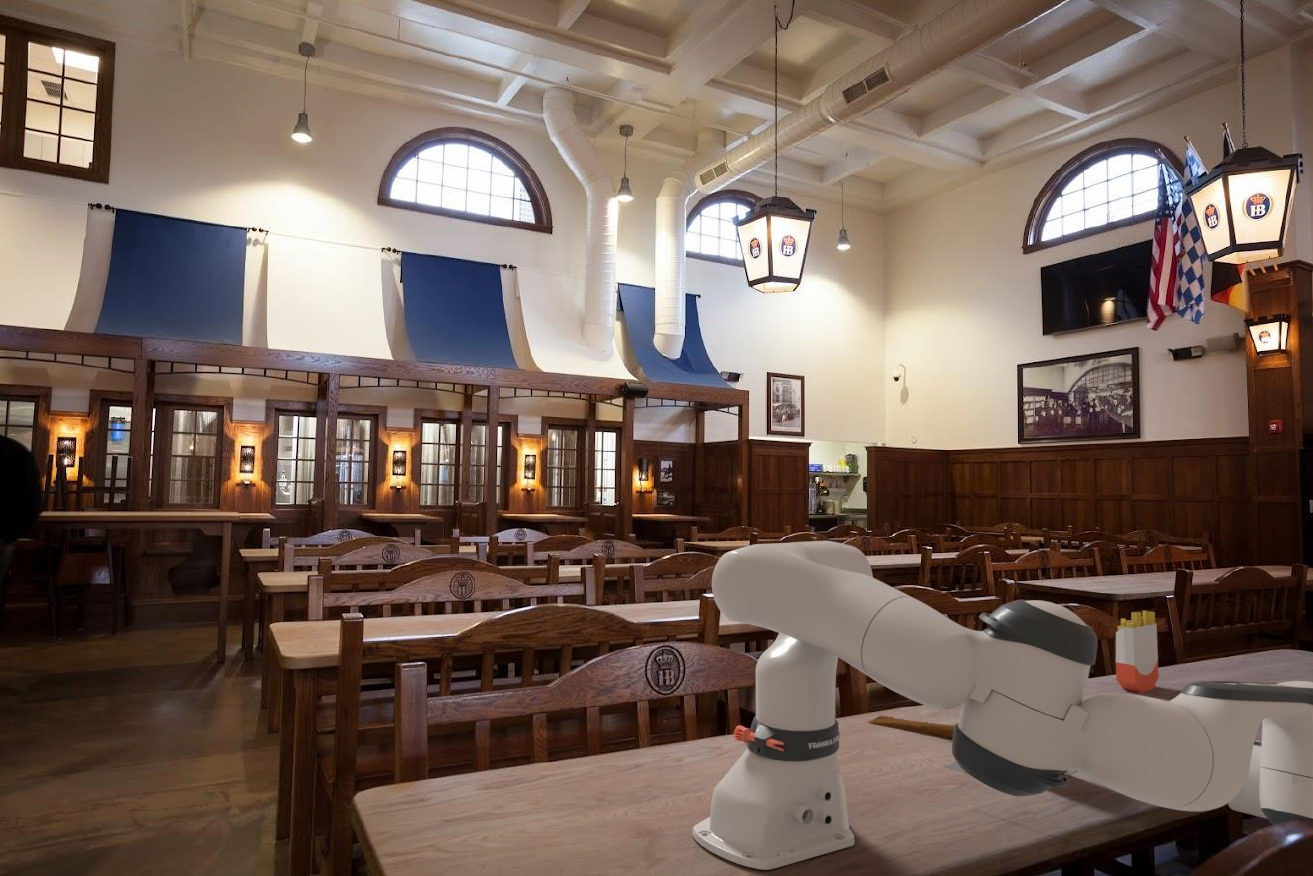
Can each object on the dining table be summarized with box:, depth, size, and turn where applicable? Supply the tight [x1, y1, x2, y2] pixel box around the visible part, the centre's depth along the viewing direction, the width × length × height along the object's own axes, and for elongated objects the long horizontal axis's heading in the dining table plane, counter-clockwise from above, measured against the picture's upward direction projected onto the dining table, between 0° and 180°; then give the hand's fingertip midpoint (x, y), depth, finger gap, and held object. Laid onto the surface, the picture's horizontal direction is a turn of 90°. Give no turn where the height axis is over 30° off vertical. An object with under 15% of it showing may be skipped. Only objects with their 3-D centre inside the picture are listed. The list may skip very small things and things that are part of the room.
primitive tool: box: [867, 715, 955, 740], centre depth 153 cm, size 19×6×4 cm, turn 47°
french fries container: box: [1115, 610, 1160, 693], centre depth 184 cm, size 5×11×18 cm, turn 123°
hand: (1135, 752), depth 117 cm, fingers closed
